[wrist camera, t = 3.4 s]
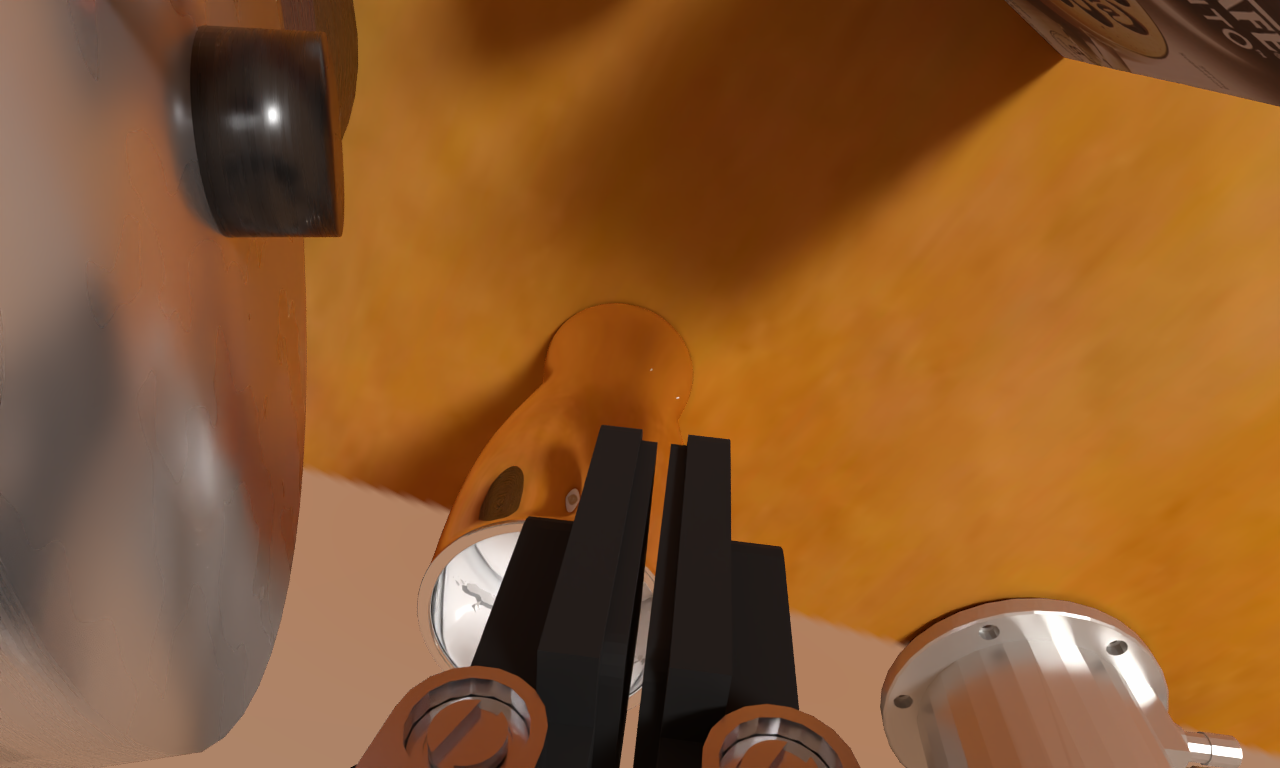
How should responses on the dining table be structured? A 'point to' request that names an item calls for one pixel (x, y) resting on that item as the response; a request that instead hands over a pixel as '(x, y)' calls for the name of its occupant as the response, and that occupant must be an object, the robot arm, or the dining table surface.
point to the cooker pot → (331, 41)
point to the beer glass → (556, 467)
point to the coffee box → (1170, 40)
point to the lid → (151, 362)
